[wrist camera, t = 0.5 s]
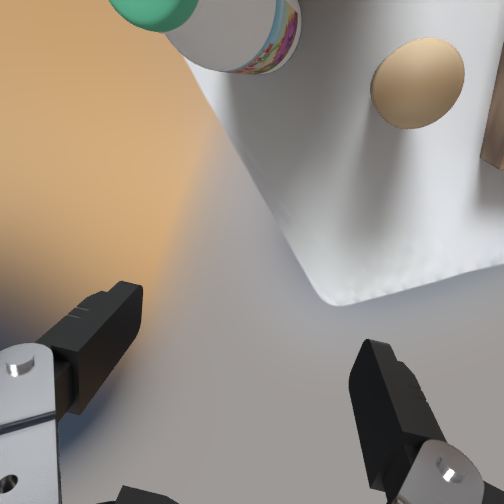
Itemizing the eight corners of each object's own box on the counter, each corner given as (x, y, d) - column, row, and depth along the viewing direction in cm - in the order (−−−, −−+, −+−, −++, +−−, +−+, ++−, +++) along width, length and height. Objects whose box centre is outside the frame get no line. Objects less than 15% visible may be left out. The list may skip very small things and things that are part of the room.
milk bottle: (210, 7, 31) (26, -82, 14) (283, -46, 27) (158, -253, 10) (245, 89, 33) (124, 98, 16) (315, 48, 30) (256, 7, 13)
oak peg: (369, 59, 29) (377, 45, 17) (424, 52, 27) (472, 30, 16) (367, 112, 31) (371, 131, 19) (417, 107, 29) (456, 125, 18)
